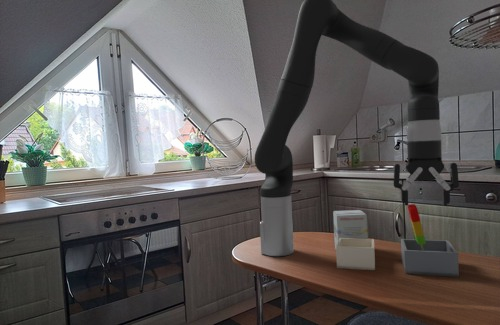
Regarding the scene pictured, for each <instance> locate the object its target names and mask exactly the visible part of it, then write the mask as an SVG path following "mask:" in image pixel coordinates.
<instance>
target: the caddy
mask: <svg viewBox="0 0 500 325" xmlns="http://www.w3.org/2000/svg"><path fill="white" fill-rule="evenodd" d="M425 241H426V243H425V244H423V249H424V251H423V250H422V246H421V245H419V244H418V243H417V241H416V239H414V238H412V239H411V238H401V239H400V248H401V250H400V252H401V262H402V266H403V270H404V273H405V274H408V275H409V274H410V275H423V276H438V277H442V276H443V277H456V278H457V277H458V278H459V277H460V273H459V268H460V267H459V252H458V251H457V249H456V248H455V247H454V246H453V245H452V243H451V242H450V241H449V240H445V239H444V240H443V239H425Z"/></svg>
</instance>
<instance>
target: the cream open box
mask: <svg viewBox="0 0 500 325" xmlns="http://www.w3.org/2000/svg"><path fill="white" fill-rule="evenodd" d="M335 252H336V269H348V270H362V271H363V270H364V271H376V256H375V253H376V252H375V239H374V238H368V239H357V238H339V240H338V243H337V245H336V249H335Z"/></svg>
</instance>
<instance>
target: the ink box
mask: <svg viewBox="0 0 500 325" xmlns="http://www.w3.org/2000/svg"><path fill="white" fill-rule="evenodd" d="M332 214H333V234H334V237H333V238H334V249H335V250H336V245H337V243H338V240H339V238H357V239H369V228H368V215H367V214H366V213H365V212H364V211H362V210H360V209H354V210H353V209H352V210H351V209H349V210H333V212H332Z"/></svg>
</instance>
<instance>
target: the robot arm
mask: <svg viewBox="0 0 500 325" xmlns="http://www.w3.org/2000/svg"><path fill="white" fill-rule="evenodd" d="M299 7H300V8H299V12H298V16H297V20H296V24H295V29H294V35H293V39H292V44H291V46H290V50H289V52H288V56H287V59H286V62H285V65H284V68H283V71H282V75H281V78H280V80H279V84H278V87H277V91H276V92H275V93H276V94H275V96H274V100H273V104H272V107H271V111H270V113H269V117H268V120H267V122H266V126H265V128H264V131H263V133H262V134H261V135H262V136H261V137H260V138H261V139H260V140H259V142H258V145H257V147H256V150H255V153H254V164H255V165H254V166H255V167H256V169H257V170H258V171H259V172H260V173H261V174H265V178H264V182H263V184H262V185H261V187H260V192H259V193H260V209H261V211H260V212H261V213H260V214H261V221H260V222H259V234H260V254H261V255H266V256H271V257H284V256H288V255H291V254H293V253H294V250H295V249H294V247H295V246H294V232H293V231H294V230H293V210H292V206H293V204H292V188H293V183H294V165H293V164H294V163H293V155H292V154H293V153H292V151H291V149H290V147H289V146H288V145H286V143H287V140H288V137H289V135H290V132H291V130H292V128H293V126H294V125H295V123H296V122H297V120H299V119H298V118H299V117H300V116H301V114H302V113H303V112H304V110H305V107H306V105H307V103H308V101H309V98H310V95H311V93H312V88H313V86H314V81H315V73H316V56H317V50H318V46H319V43H320V40H321V37H322V36H324V37H327V38H329V39H332V40H335V41H337V42H339V43H342V44H344V45H346V46H348V47H349V48H351V49H352V50H354V51H355V52H357V53H359V54H360V55H362V56H363V57H364V58H367V59H368V60H369V61H371V62H373V63H375V64H377V65H378V66H380V67H382V68H384V69H387V70H390V71H393V72H394V73H396V74H398V75H400V76H401V77H403V79H406V80H407V81H408V95H409V96H408V97H409V98H408V99H409V100H408V102H407V129H406V143H407V145H406V146H407V147H406V150H407V152H406V153H407V161H406V162H407V163H406V164H399V163H394V165H393V187H394V188H395V189H399V190H400V192H401V202H402V203H403V204H404V206H408V205H409V191H408V189H409V187H410V186H411V185H412V184H413V183H414V181H417V182H424V181H427V182H433V181H436V182H437V184H439V185H440V186H441V188H442V190H441V202H442V203H441V204H442V206H443V207H447V206H448V205H449V204H450V203H451V190H453V189H458V188H459V187H460V182H459V172H458V164H457V163H456V162H449V163H444V162H443V156H442V154H443V153H442V150H443V149H442V128H441V120H440V119H441V118H440V116H441V114H440V110H441V109H440V100H439V86H440V84H439V82H440V81H439V80H440V66H439V63H438V61H437V60H436V59H435V58H434V57H433V56H431V55H429V54H427V53H426V52H424V51H421V50H419V49H418V48H417V49H416V48H414V47H411V46H408V45H405V44H404V43H403V42H401V41H400V40H397V39H396V38H394V37H392V36H390V35H388V34H387V33H385V32H383V31H380V30H377V29H375V28H372V27H369V26H366V25H365V24H364V25H363V24H362V23H359V22H357V21H355V20H353V19H352V18H350V17H348V16H347V14H345V13H344V12H342V11H341V10H340V9H339V8H338V6H337V4H335V2H334V1H333V0H303V1H302V3H301V5H300V6H299ZM405 169H406V171H407V172H408V173H409V175H408V177H407V178H406V179H405V181H403V183H400V177H401V176H400V175H401V173H403V172H404V170H405ZM444 169H446V171H447V172H448V173H449V176H450V183H447V181H445V179H444V178H443V177H442V176H441V173H442V172H443V170H444Z"/></svg>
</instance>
